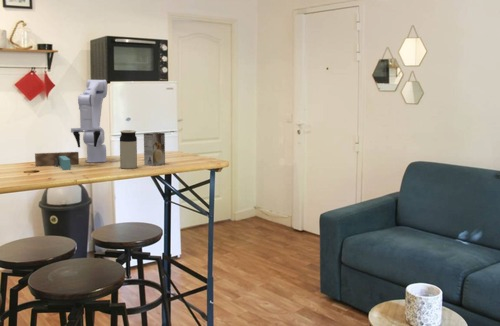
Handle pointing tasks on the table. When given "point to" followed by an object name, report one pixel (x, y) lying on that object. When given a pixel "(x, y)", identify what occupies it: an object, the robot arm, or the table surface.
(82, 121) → the robot arm
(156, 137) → the coffee box
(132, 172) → the table surface
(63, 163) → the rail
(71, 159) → the brown wooden bar
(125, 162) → the travel mug
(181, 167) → the table surface
